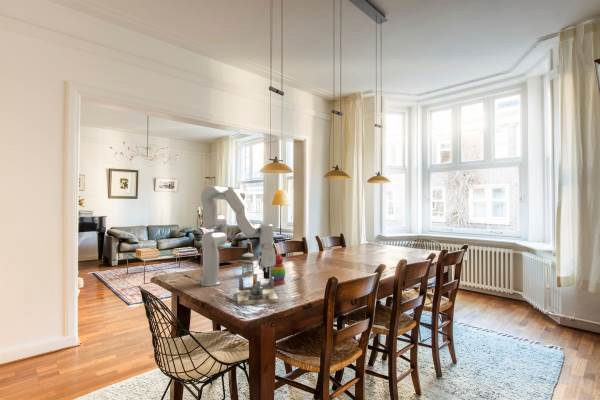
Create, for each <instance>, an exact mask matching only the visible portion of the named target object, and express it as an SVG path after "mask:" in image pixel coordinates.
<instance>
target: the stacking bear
mask: <svg viewBox="0 0 600 400" xmlns="http://www.w3.org/2000/svg"><path fill="white" fill-rule="evenodd" d="M275 257H276V264H275V265H274V266H273V267H272V268H271V270H270V271H269V272H270V277H274V286H280V285H284V284H285V281H286V280H285V278H286V277H285V276H286V268H285V265H284V264H283V261H284V257H283V256H282V255H281V254H279V253H278V254H275ZM267 283H268V285H267V286H270V280H269V281H268V282H267Z"/></svg>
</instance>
